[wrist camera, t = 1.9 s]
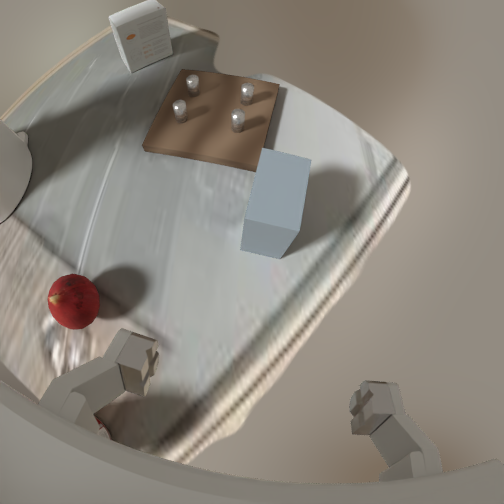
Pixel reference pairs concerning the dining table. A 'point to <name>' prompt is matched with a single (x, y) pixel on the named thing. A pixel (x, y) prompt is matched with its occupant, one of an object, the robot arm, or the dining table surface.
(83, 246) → the dining table surface
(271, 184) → the keyed block
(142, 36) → the small box
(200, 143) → the dowel plate
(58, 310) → the onion
